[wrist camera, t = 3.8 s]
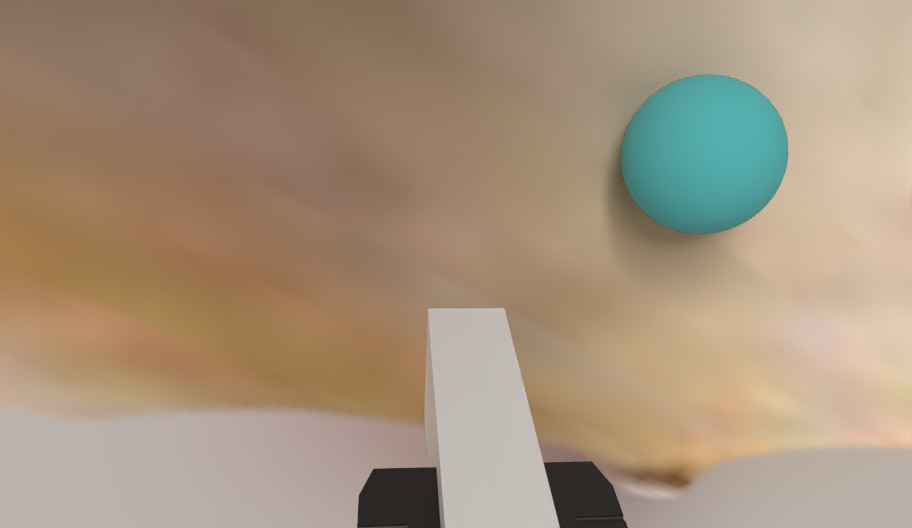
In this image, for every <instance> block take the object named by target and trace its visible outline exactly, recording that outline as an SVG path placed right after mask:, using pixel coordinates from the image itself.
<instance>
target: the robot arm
mask: <svg viewBox="0 0 912 528" xmlns="http://www.w3.org/2000/svg"><path fill="white" fill-rule="evenodd" d="M424 420H425V438H426V453H427V454H426V455H427V468H389V469H373V471H372V473H371V475H370V476H369V478H368V480H367V482H366V484H365V485H364V487H363V489H362V491H361V493H360V495H359V505H358V524H357V528H628V527H627V524H626V522H625V521H624V520H623V513H622V510H621V508H620V505H619V502H618V499H617V496H616V493H615V491H614V488H613V486H612V484H611V483H610V482H609V481H608V480H607V479H606V478H605V476H604V475H603V474H602V473H601V472H600V471H599V469H598V468H597V467H596V466H595V465H594V464H593V462H592V461H591V462H551V463H543V459H542V455H541V451H540V447H539V443H538V439H537V435H536V431H535V427H534V423H533V420H532V416H531V412H530V408H529V404H528V400H527V396H526V392H525V388H524V384H523V380H522V376H521V372H520V368H519V364H518V360H517V356H516V352H515V348H514V344H513V340H512V336H511V332H510V328H509V325H508V321H507V317H506V313H505V309H504V308H428V319H427V348H426V377H425V406H424Z"/></svg>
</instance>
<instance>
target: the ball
mask: <svg viewBox="0 0 912 528" xmlns="http://www.w3.org/2000/svg"><path fill="white" fill-rule="evenodd" d="M787 161H788V139H787V134H786V130H785V127H784V124H783V121H782V119H781V117H780V115H779V113H778V111H777V110H776V109H775V107H774V106H773V105H772V103H771V102H770V101H769V99H767V98H766V97H765V96H764V95H763V94H762V93H761V92H759V91H758V90H757V89H755V88H754V87H752V86H751V85H749V84H747V83H745V82H742V81H740V80H737V79H735V78H731V77H727V76H721V75H698V76H692V77H687V78H683V79H680V80H677V81H675V82H673V83H670V84H668V85H667V86H665V87H663V88H661V89H660V90H658V91H657V92H656V93H654V94H653V95H652V96H651V97H650V98H648V99H647V100H646V101H645V102H644V103H643V104H642V106H641V107H640V108H639V109H638V110H637V112H636V113H635V115H634V116H633V118H632V120H631V121H630V123H629V125H628V127H627V130H626V132H625V135H624V139H623V143H622V151H621V167H622V173H623V178H624V181H625V184H626V187H627V189H628V191H629V193H630V195H631V197H632V198H633V200H634V201H635V203H636V204H637V205H638V206H639V207H640V209H641V210H642V211H643V212H644V213H645V214H646V215H648V216H649V217H650V218H652V219H653V220H655V221H656V222H658V223H659V224H661V225H663V226H665V227H668V228H671V229H673V230H676V231H679V232H685V233H693V234H710V233H716V232H720V231H724V230H728V229H731V228H733V227H736V226H738V225H740V224H742V223H744V222H746V221H747V220H749V219H750V218H752V217H753V216H755V215H756V214H757V213H758V212H760V211H761V210H762V209H763V208H764V207H765V206H766V205H767V204H768V202H769V201H770V200H771V199H772V197H773V196H774V194H775V193H776V191H777V190H778V188H779V186H780V184H781V182H782V179H783V176H784V174H785V170H786V166H787Z"/></svg>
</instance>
